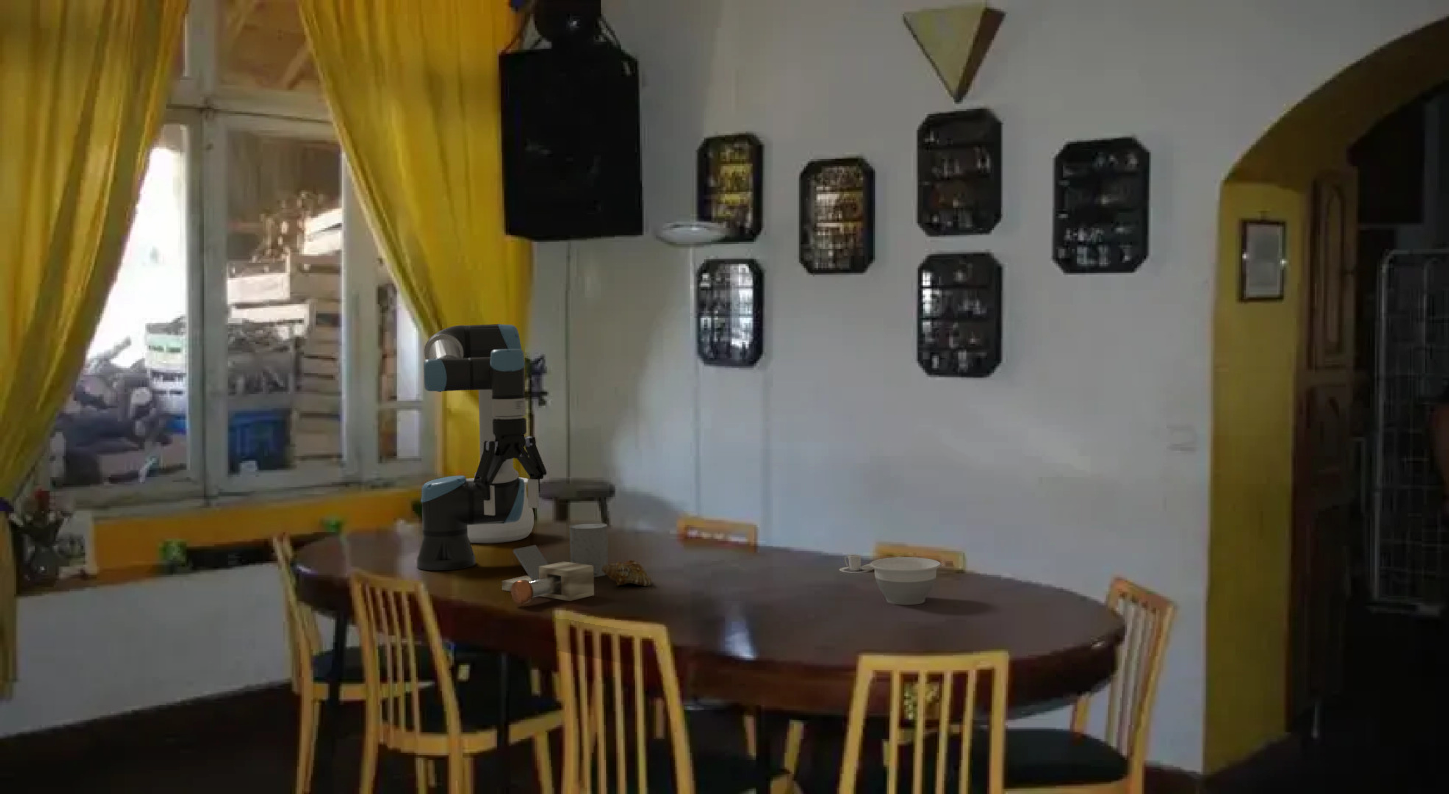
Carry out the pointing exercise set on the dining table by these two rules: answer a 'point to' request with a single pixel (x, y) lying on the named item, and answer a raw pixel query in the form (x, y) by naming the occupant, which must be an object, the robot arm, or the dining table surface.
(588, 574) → the block
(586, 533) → the grey stone cylinder
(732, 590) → the dining table surface
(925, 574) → the bowl
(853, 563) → the teacup and saucer
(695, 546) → the dining table surface
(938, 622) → the dining table surface
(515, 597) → the pin
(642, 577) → the seashell
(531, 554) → the latch flap
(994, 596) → the dining table surface
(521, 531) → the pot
